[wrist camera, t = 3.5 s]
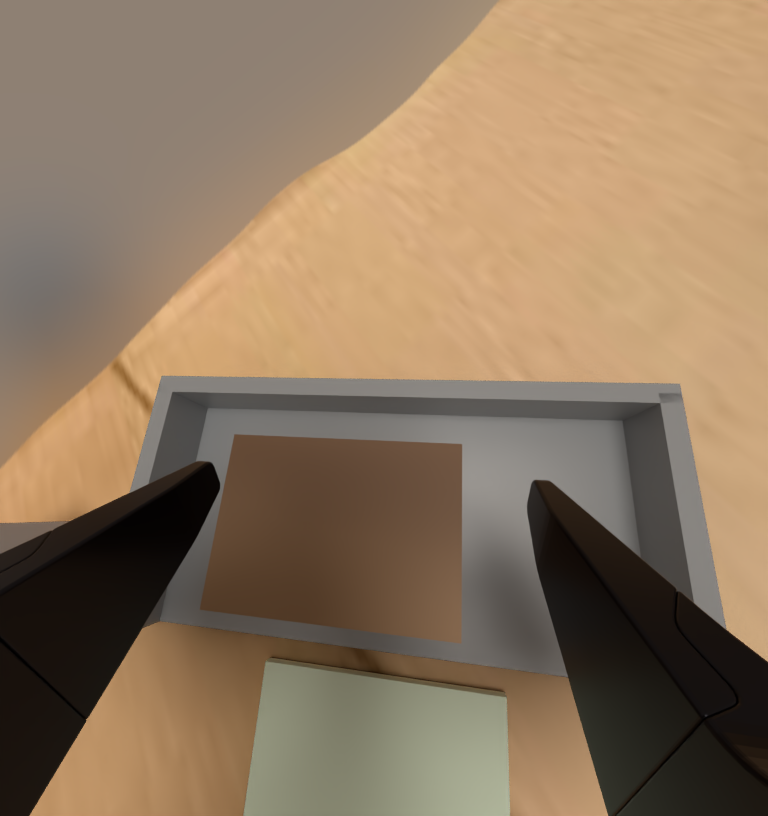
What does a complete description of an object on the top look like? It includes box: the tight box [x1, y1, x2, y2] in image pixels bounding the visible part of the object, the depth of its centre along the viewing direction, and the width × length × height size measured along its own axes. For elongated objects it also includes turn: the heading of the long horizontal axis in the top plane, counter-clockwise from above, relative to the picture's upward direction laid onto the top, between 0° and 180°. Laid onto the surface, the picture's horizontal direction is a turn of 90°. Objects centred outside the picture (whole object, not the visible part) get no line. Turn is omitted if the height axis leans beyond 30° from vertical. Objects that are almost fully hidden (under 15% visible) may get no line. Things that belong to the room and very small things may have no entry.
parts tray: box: [130, 376, 726, 677], centre depth 15 cm, size 11×23×3 cm, turn 86°
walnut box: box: [200, 434, 462, 644], centre depth 11 cm, size 4×5×10 cm
